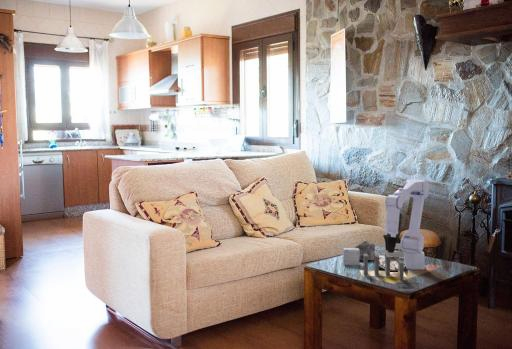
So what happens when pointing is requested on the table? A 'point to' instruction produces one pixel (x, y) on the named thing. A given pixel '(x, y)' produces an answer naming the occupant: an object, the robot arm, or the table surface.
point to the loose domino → (400, 270)
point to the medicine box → (351, 256)
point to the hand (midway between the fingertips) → (389, 251)
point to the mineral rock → (366, 250)
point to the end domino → (365, 264)
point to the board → (381, 274)
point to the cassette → (396, 253)
